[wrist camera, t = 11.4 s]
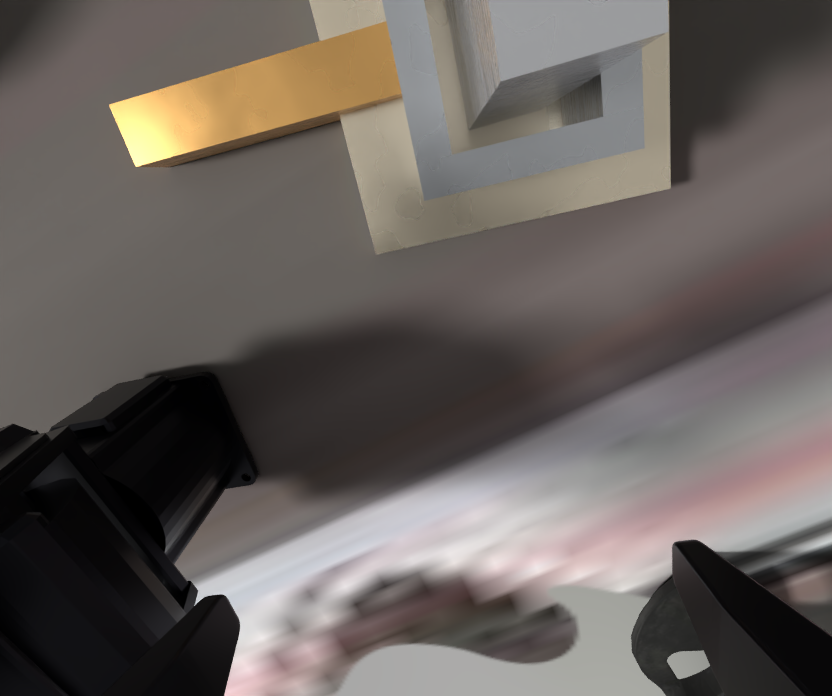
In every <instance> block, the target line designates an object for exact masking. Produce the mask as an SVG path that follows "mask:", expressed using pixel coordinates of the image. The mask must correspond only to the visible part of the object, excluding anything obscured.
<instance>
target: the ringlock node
mask: <svg viewBox="0 0 832 696" xmlns="http://www.w3.org/2000/svg"><path fill="white" fill-rule="evenodd" d="M309 1H310V5H311V9H312V12H313V16H314V20H315V24H316V28H317V31H318V35H319V39H320V41H319V42H316V43H312V44H309V45H306V46H302V47H299V48H296V49H292V50H289V51H286V52H282V53H279V54H276V55H272V56H269V57H266V58H263V59H259V60H256V61H253V62H249V63H246V64H243V65H239V66H236V67H233V68H229V69H226V70H223V71H220V72H216V73H213V74H210V75H206V76H203V77H200V78H196V79H193V80H190V81H186V82H183V83H180V84H176V85H173V86H170V87H167V88H163V89H160V90H157V91H153V92H150V93H147V94H143V95H140V96H137V97H133V98H130V99H127V100H124V101H120V102H117V103H114V104H110V105H109V106H110V108H111V110H112V113H113V115H114V117H115V120H116V122H117V124H118V127H119V129H120V131H121V133H122V136H123V138H124V140H125V143H126V145H127V147H128V150H129V152H130V154H131V156H132V159H133V161H134V163H135V166H136V167H171V166H175V165H179V164H182V163H186V162H190V161H193V160H197V159H201V158H204V157H208V156H212V155H215V154H219V153H223V152H226V151H230V150H234V149H237V148H241V147H245V146H248V145H252V144H256V143H259V142H263V141H267V140H270V139H274V138H278V137H281V136H285V135H289V134H292V133H296V132H299V131H303V130H307V129H310V128H314V127H318V126H321V125H325V124H329V123H332V122H336V121H340V120H341V123H342V127H343V131H344V134H345V138H346V142H347V146H348V150H349V153H350V157H351V161H352V165H353V169H354V173H355V176H356V180H357V184H358V188H359V192H360V195H361V199H362V203H363V207H364V211H365V214H366V218H367V222H368V226H369V230H370V234H371V237H372V241H373V245H374V249H375V253H376V255H377V254H382V253H386V252H391V251H395V250H399V249H404V248H408V247H413V246H417V245H422V244H426V243H431V242H435V241H439V240H444V239H448V238H453V237H457V236H462V235H466V234H471V233H475V232H479V231H484V230H488V229H493V228H497V227H502V226H506V225H511V224H515V223H519V222H524V221H528V220H533V219H537V218H542V217H546V216H551V215H555V214H559V213H564V212H568V211H573V210H577V209H582V208H586V207H591V206H595V205H599V204H604V203H608V202H613V201H617V200H622V199H626V198H631V197H635V196H639V195H644V194H648V193H653V192H657V191H662V190H666V189H671V169H670V59H669V32H667V33H666V34H664V35H662V36H661V37H659V38H657V39H656V40H654V41H653V42H651V43H649V44H648V45H646V46H644V47H643V48H641V49H639V50H638V51H636V52H635V53H633V54H631V55H630V56H628V57H626V58H625V59H623V60H622V61H620V62H618V63H617V64H615V65H613V66H612V67H610V68H609V69H607V70H605V71H604V72H602V73H600V74H599V75H597V76H595V77H594V78H592V79H591V80H589V81H587V82H586V83H584V84H582V85H581V86H579V87H578V88H576V89H574V90H573V91H571V92H569V93H568V94H566V95H565V96H563V97H561V98H560V99H558V100H556V101H555V102H553V103H551V104H550V105H548V106H547V107H545V108H543V109H542V110H539V111H536V112H532V113H529V114H525V115H522V116H518V117H515V118H511V119H508V120H504V121H501V122H497V123H493V124H490V125H486V126H483V127H479V128H476V129H472V130H468V124H467V119H466V114H465V108H464V103H463V97H462V92H461V87H460V81H459V76H458V71H457V65H456V60H455V54H454V49H453V44H452V38H451V33H450V28H449V22H448V17H447V11H446V6H445V1H444V0H309ZM668 25H669V0H668Z"/></svg>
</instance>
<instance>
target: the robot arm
mask: <svg viewBox="0 0 832 696" xmlns="http://www.w3.org/2000/svg"><path fill="white" fill-rule="evenodd" d="M203 380H204V381H206V382H207V383H208V385H209V386H206V385H205V384H204V383H203ZM246 474H248V475H250V476H247V475H246ZM258 475H259V473H258V470H257V468H256V465H255V463H254V461H253V459H252V457H251V454H250V452H249V450H248V448H247V445H246V443H245V441H244V439H243V436H242V434H241V432H240V430H239V427H238V425H237V423H236V421H235V418H234V416H233V414H232V412H231V409H230V407H229V405H228V403H227V400H226V398H225V396H224V394H223V392H222V389H221V387H220V385H219V383H218V380H217V379H216V377H215V376H214V375H213V374H211V373H208V372H202V373H197V374H192V375H187V376H182V377H176V378H171V379H169V378H168V377H167V376H163V375H159V376H154V377H149V378H144V379H139V380H134V381H129V382H124V383H119V384H116V385H115V386H113V387H112V388H110V389H109V390H107V391H105V392H102V393H100V394H98V395H97V396H95V397H94V398H93V400H92V401H91V402H89V403H87V404H86V405H84V406H83V407H81V408H80V409H78V410H77V411H75V412H74V413H72V414H71V415H69V416H68V417H66V418H65V419H63V420H62V421H60V422H59V423H57V424H56V425H54V426H52V427H51V429H50V431H49V432H47V433H42V434H39V433H38V431H37V430H36V431H31V430H29V429H26V428H23V427H20V426H18V425H15V424H11V425H8V426H6V427H3V428H0V696H224V693H225V689H226V685H227V681H228V677H229V673H230V669H231V665H232V661H233V657H234V653H235V648H236V644H237V640H238V636H239V631H240V622H239V619H238V616H237V615H236V613H235V611H234V609H233V607H232V606H231V604H230V602H229V600H228V598H227V597H226V596H224V595H212V596H207V597H204V598H203V599H202V600H200V601H199V602H198V603H197V604H196V605H195V601H196V597H197V593H198V590H197V589H196V587H195V586H194V585H193V583H192V582H191V581H187V580H186V579H185V578H184V577H183V575H182V574H181V573H180V571H179V570H178V569H177V568H176V566H175V565H174V564H175V562H176V561H177V559H178V558H179V556H180V555H181V553H182V552H183V550H184V549H185V547H186V546H187V545H188V543H189V542H190V540H191V539H192V537H193V536H194V534H195V533H196V531H197V530H198V528H199V527H200V525H201V524H202V523H203V521H204V520H205V518H206V517H207V515H208V514H209V512H210V511H211V509H212V508H213V506H214V505H215V503H216V502H217V501H218V499H219V498H220V496H221V495H222V493H223V492H224V490H225V489H228V488H234V487H241V486H247V485H251V484H253V483H254V482H255V481H256V479H257V478H258ZM672 573H673V579H674V583H675V585H676V588H677V590H678V593H679V595H680V597H681V600H682V602H683V604H684V606H685V609H686V611H687V613H688V616H689V618H690V620H691V622H692V625H693V627H694V629H695V631H696V634H697V636H698V638H699V641H700V643H701V645H702V647H703V650H704V652H705V654H706V656H707V659H708V661H709V663H710V666H711V668H712V670H713V672H714V674H715V677H716V679H717V681H718V683H719V685H720V687H721V689H722V691H723V692H724V694H725V696H832V635H830V634H829V633H827V632H826V631H825V630H823V629H822V628H820V627H819V626H818V625H816V624H815V623H813V622H812V621H811V620H809V619H808V618H806V617H805V616H804V615H802V614H801V613H799V612H798V611H797V610H795V609H794V608H793V607H791V606H790V605H788V604H787V603H786V602H784V601H783V600H781V599H780V598H779V597H777V596H776V595H774V594H773V593H772V592H770V591H769V590H767V589H766V588H765V587H763V586H762V585H760V584H759V583H758V582H756V581H755V580H753V579H752V578H751V577H749V576H748V575H746V574H745V573H744V572H742V571H741V570H739V569H738V568H737V567H735V566H734V565H733V564H731V563H730V562H728V561H727V560H726V559H724V558H723V557H721V556H720V555H719V554H717V553H716V552H714V551H713V550H712V549H710V548H709V547H707V546H706V545H705V544H703V543H702V542H700V541H698V540H686V541H677V542H675V543H674V544H673V546H672ZM194 605H195V606H194Z"/></svg>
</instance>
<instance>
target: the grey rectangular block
mask: <svg viewBox="0 0 832 696" xmlns="http://www.w3.org/2000/svg"><path fill="white" fill-rule="evenodd" d="M444 1H445V6H446V11H447V17H448V22H449V28H450V33H451V38H452V44H453V49H454V54H455V60H456V65H457V71H458V76H459V81H460V87H461V92H462V97H463V103H464V108H465V114H466V119H467V124H468V130H472V129H476V128H479V127H483V126H486V125H490V124H493V123H497V122H501V121H504V120H508V119H511V118H515V117H518V116H522V115H525V114H529V113H532V112H536V111H539V110H542V109H543V108H545V107H547V106H548V105H550V104H551V103H553V102H555V101H556V100H558V99H560V98H561V97H563V96H565V95H566V94H568V93H569V92H571V91H573V90H574V89H576V88H578V87H579V86H581V85H582V84H584V83H586V82H587V81H589V80H591V79H592V78H594V77H595V76H597V75H599V74H600V73H602V72H604V71H605V70H607V69H609V68H610V67H612V66H613V65H615V64H617V63H618V62H620V61H622V60H623V59H625V58H626V57H628V56H630V55H631V54H633V53H635V52H636V51H638V50H639V49H641V48H643V47H644V46H646V45H648V44H649V43H651V42H653V41H654V40H656V39H657V38H659V37H661V36H662V35H664V34H666V33H667V32H669V25H668V0H444Z"/></svg>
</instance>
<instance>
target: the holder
mask: <svg viewBox="0 0 832 696" xmlns="http://www.w3.org/2000/svg"><path fill="white" fill-rule="evenodd" d="M631 639H632V653H633V655H634V657H635V659H636V661H637V663H638V665H639V666H640V668H641V670H642V672H643V673H644V674H645V675H646V676H647V678H648V679H650V680H651V681H652V682H654V683H655V684H656V685H657V686H659V687H660V688H661V689H662V691H663V692H664V693H665V695H666V696H725V694H724V692H723V691H722V689H721V687H720V685H719V683H718V681H717V679H716V677H715V674H714V672H713V670H712V668H711V666H710V667H708V668H707V669H705V670H703V671H702V672H699V673H697V674H695V675H692V676H690V677H687V678H683V679H677V677H676V676H675V674H674V672H673V671H672V669H671V668H670V666H669V665H668V663H667V659H668V657H669V656H670V655H671V654H673V653H676V652H679V651H698V650H699V651H700V650H703V647H702V645H701V643H700V641H699V638H698V636H697V634H696V631H695V629H694V627H693V625H692V622H691V620H690V618H689V616H688V613H687V611H686V609H685V606H684V604H683V602H682V600H681V597H680V595H679V593H678V590H677V588H676V585H675V583H674V579H673V577H672V578H671V579H670V580H668V581H667V582H666V583H665V584H664V585H663V586H661V587H660V588H659V589H658V590H657V591H656V592H655V593H654V594H653V596H652V597H651V599H650V600H649V602H648V603H647V604H646V605H645V607H644V608H643V610H642V611H641V613H640V614H639V617H638V619H637V622H636V624H635V626H634V628H633V632H632V635H631Z"/></svg>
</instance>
